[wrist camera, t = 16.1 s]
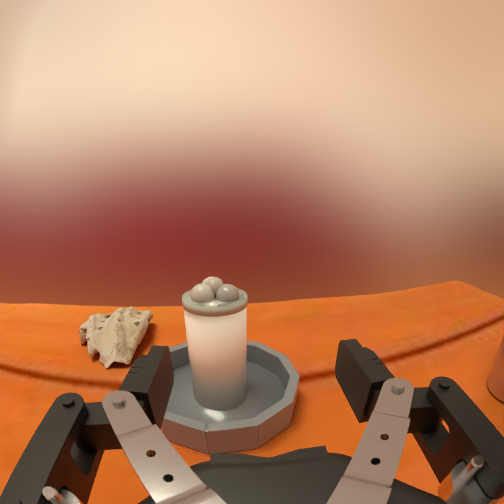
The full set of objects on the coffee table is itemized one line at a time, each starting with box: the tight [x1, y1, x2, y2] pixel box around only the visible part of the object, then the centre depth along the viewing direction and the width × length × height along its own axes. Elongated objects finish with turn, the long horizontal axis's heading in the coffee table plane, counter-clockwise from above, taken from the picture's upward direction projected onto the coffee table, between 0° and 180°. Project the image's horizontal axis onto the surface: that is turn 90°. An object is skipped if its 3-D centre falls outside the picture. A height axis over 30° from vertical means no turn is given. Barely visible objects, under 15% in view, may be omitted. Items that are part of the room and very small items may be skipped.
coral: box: [79, 307, 153, 369], centre depth 40 cm, size 15×12×5 cm
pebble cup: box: [182, 277, 247, 411], centre depth 27 cm, size 6×6×14 cm
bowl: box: [161, 341, 300, 454], centre depth 28 cm, size 17×17×4 cm
